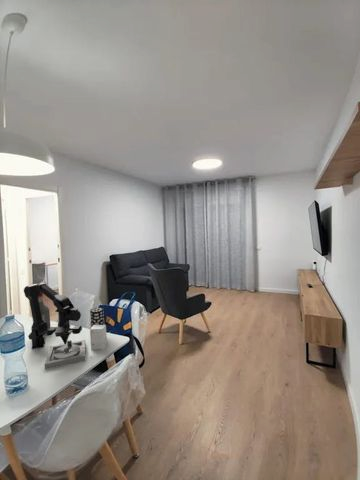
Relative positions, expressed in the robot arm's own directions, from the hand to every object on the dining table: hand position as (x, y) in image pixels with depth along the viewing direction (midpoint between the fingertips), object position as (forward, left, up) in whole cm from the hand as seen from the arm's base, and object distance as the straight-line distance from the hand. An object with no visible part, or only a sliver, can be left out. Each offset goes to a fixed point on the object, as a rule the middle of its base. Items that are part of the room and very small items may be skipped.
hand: (65, 344), depth 145 cm
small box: (+19, -3, -5) cm, 20 cm away
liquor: (-18, +35, -5) cm, 40 cm away
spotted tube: (+19, +8, -5) cm, 21 cm away
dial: (+1, -6, -3) cm, 7 cm away
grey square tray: (+1, -6, -5) cm, 7 cm away
